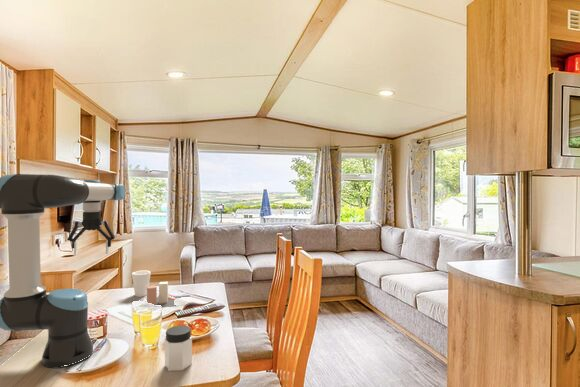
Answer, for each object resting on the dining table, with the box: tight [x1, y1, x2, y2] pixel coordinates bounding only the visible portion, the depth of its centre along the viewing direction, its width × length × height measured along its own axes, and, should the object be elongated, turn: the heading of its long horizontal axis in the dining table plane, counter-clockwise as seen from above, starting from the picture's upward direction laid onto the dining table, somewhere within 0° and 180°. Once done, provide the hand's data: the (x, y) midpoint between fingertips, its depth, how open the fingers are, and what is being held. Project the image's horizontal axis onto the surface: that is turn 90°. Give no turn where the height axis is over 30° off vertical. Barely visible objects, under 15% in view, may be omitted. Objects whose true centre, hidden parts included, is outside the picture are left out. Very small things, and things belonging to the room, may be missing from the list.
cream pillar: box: [158, 281, 169, 303], centre depth 174 cm, size 4×4×10 cm
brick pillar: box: [146, 284, 158, 305], centre depth 167 cm, size 4×4×10 cm
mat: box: [157, 294, 191, 308], centre depth 175 cm, size 16×22×1 cm
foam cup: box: [131, 269, 152, 298], centre depth 185 cm, size 10×9×13 cm
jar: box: [164, 324, 193, 372], centre depth 114 cm, size 9×8×12 cm
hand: (91, 254), depth 164 cm, fingers open, 13 cm apart
